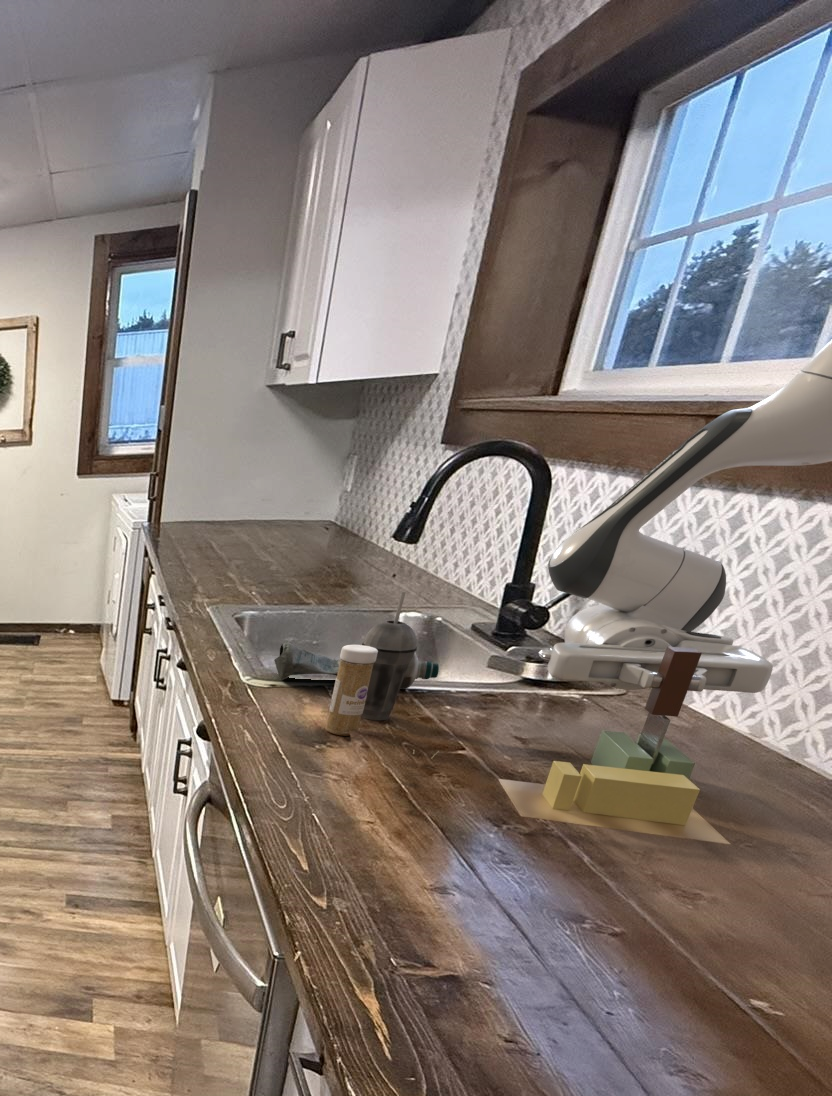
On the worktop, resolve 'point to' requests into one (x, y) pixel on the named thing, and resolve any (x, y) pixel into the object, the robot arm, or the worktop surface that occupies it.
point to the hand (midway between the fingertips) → (675, 683)
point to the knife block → (639, 755)
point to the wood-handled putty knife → (668, 696)
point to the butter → (636, 794)
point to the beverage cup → (388, 664)
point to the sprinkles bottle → (350, 688)
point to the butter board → (536, 806)
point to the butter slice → (561, 785)
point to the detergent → (311, 663)
